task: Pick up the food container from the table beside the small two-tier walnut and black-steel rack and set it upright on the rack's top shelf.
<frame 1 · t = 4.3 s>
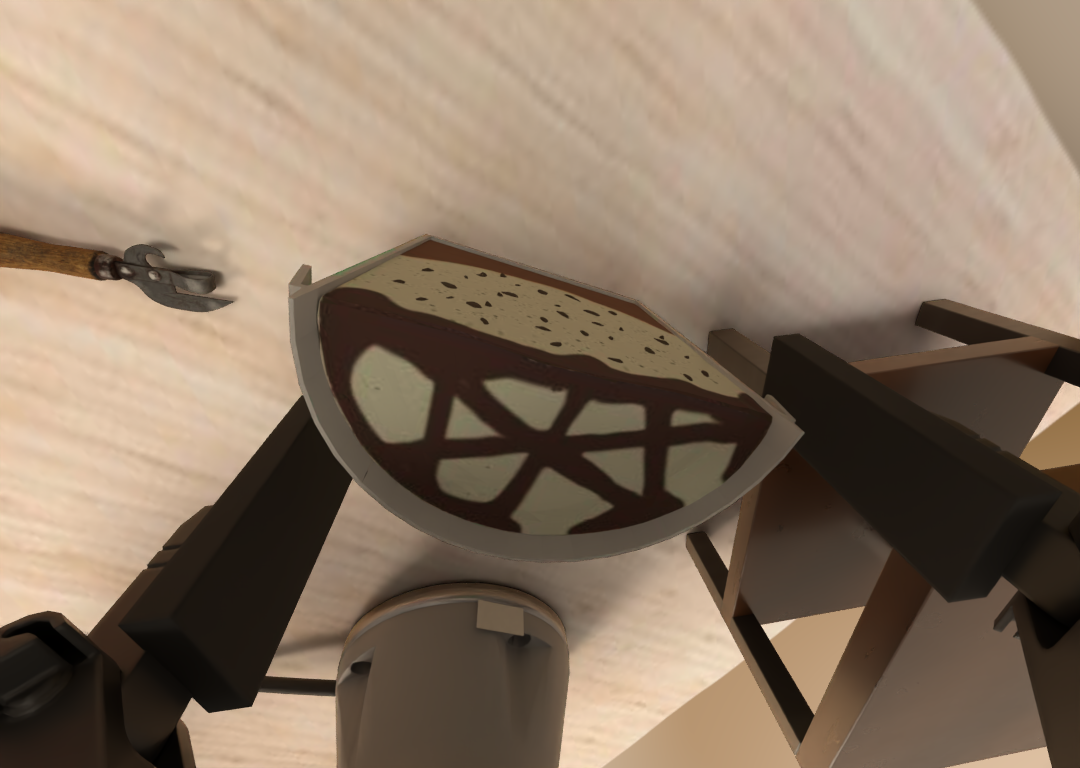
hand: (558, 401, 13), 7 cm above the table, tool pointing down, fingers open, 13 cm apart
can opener: (101, 265, 15), on the table
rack: (797, 439, 24), on the table
food container: (517, 334, 19), on the table
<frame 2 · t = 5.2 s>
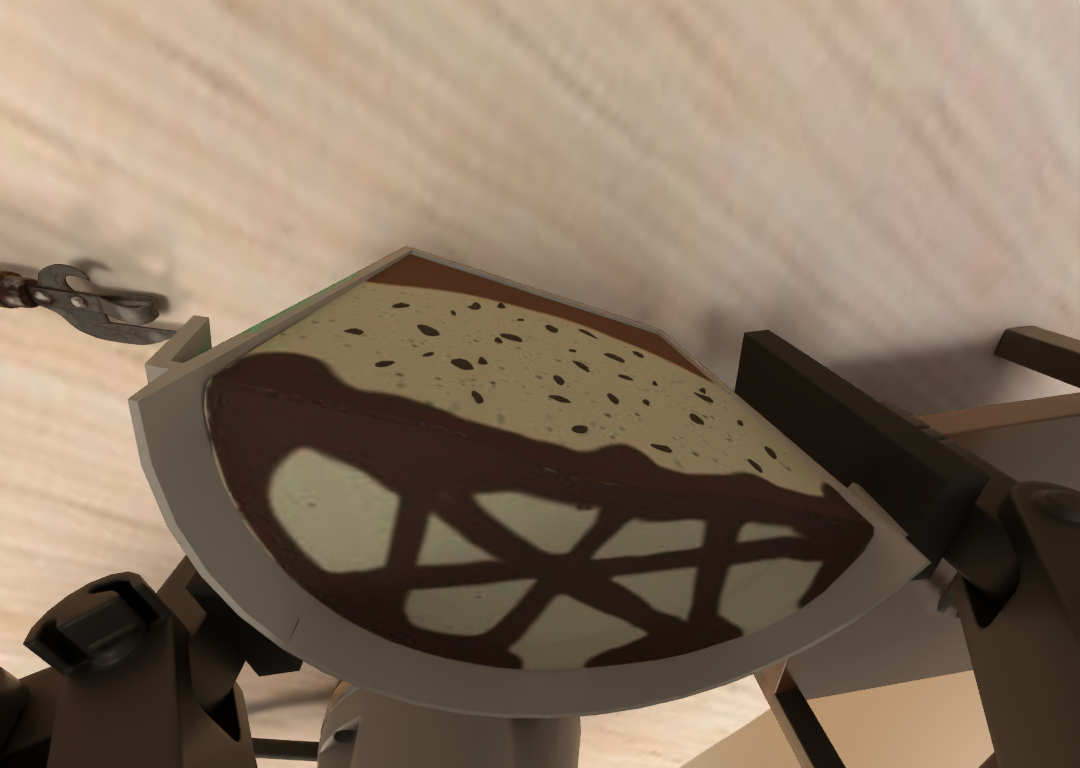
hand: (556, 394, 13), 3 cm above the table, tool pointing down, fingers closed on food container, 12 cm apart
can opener: (15, 287, 12), on the table
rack: (847, 482, 20), on the table
food container: (515, 366, 16), on the table, touching gripper
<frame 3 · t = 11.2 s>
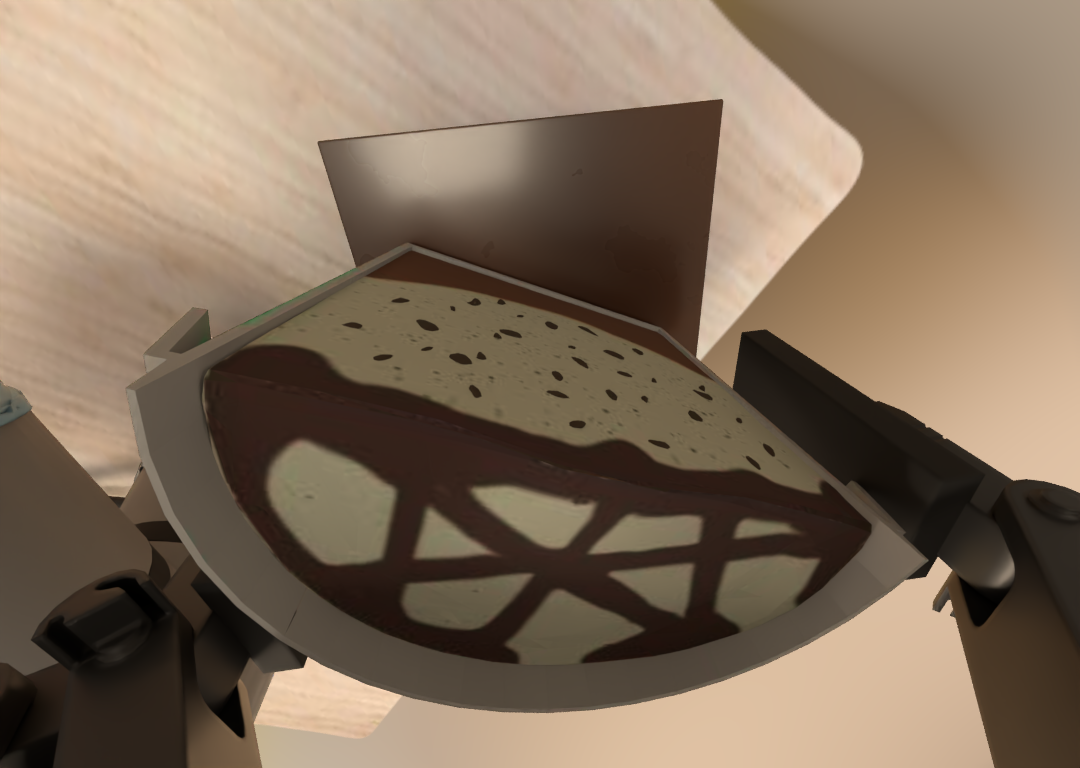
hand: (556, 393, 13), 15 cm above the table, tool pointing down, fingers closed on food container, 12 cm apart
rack: (526, 272, 26), on the table
food container: (516, 363, 16), point 12 cm above the table, touching gripper
when the fingers open (15 cm above the table, at t = 11.9 s): food container stays where it is, resting on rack.
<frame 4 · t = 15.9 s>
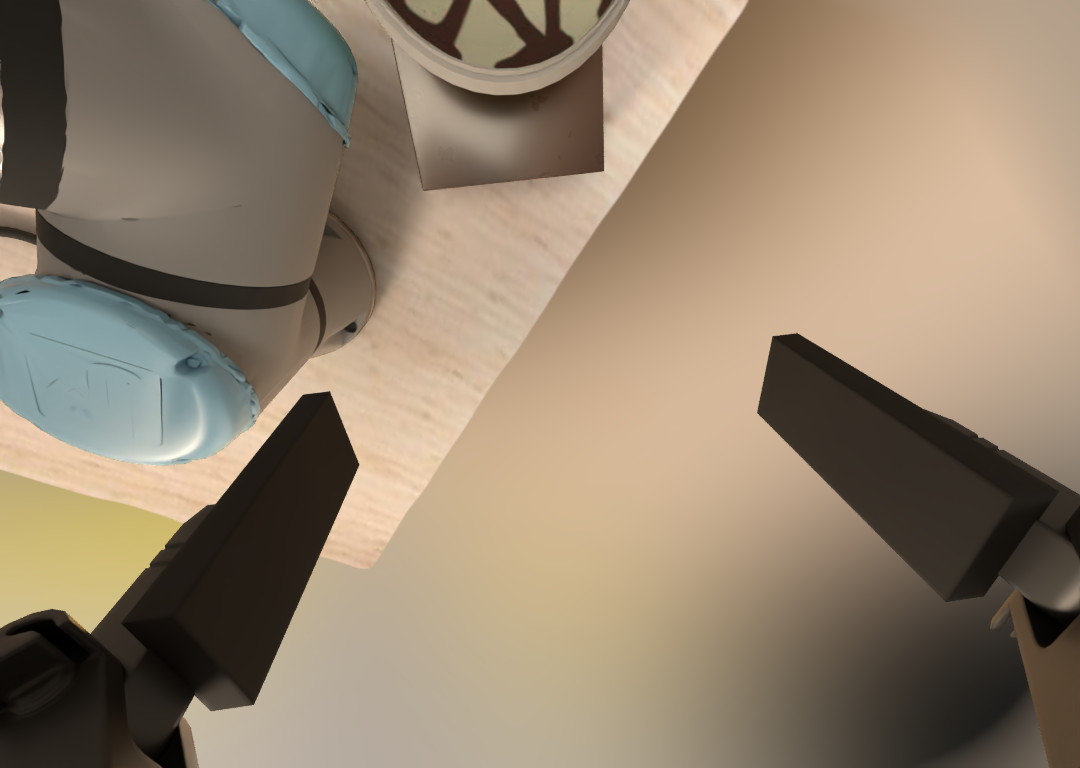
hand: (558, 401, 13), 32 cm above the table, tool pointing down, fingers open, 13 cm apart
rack: (497, 71, 34), on the table
food container: (478, 42, 24), point 12 cm above the table, touching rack
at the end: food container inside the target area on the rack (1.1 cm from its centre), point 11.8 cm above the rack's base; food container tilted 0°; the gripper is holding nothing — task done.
